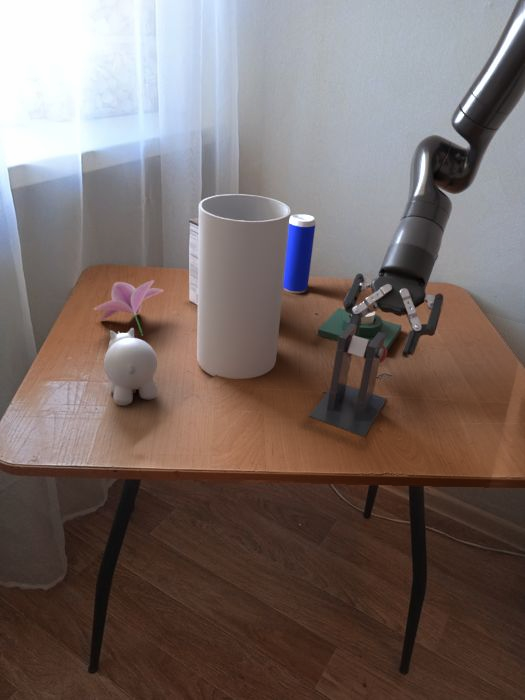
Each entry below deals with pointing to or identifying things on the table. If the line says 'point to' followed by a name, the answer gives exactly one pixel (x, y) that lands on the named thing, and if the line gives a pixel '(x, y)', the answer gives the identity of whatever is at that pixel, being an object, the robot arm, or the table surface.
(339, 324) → the button box
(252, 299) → the cylinder vase
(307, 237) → the beverage can
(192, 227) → the coffee box
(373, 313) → the button
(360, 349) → the tap lever
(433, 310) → the robot arm
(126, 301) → the lily
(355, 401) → the grey lever stand
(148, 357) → the chubby cartoon animal
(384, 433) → the table surface
